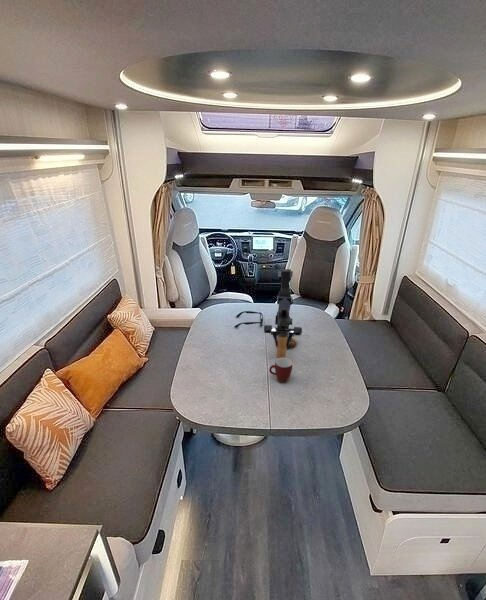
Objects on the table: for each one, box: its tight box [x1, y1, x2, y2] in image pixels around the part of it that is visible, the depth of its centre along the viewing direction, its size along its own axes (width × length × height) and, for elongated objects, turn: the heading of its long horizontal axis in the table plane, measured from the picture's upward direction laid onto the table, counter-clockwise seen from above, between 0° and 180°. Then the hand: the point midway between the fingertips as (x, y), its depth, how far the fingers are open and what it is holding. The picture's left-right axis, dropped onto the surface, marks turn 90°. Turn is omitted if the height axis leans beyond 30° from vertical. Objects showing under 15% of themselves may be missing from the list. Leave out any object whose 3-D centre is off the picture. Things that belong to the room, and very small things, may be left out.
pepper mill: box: [275, 333, 288, 359], centre depth 155 cm, size 5×5×13 cm
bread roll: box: [286, 335, 297, 350], centre depth 178 cm, size 11×11×5 cm
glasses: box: [234, 310, 264, 329], centre depth 200 cm, size 17×18×5 cm
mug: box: [268, 357, 293, 383], centre depth 146 cm, size 10×8×10 cm
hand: (281, 347), depth 154 cm, fingers closed on pepper mill, 5 cm apart
